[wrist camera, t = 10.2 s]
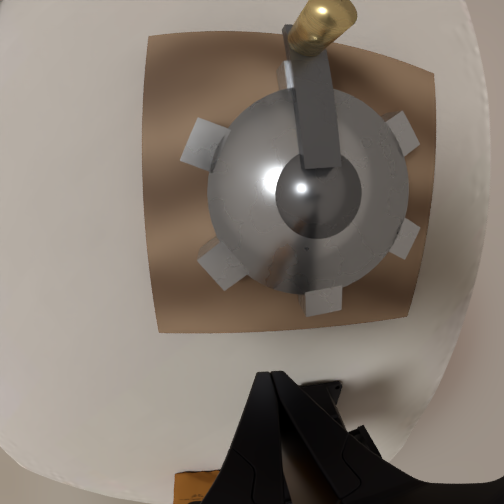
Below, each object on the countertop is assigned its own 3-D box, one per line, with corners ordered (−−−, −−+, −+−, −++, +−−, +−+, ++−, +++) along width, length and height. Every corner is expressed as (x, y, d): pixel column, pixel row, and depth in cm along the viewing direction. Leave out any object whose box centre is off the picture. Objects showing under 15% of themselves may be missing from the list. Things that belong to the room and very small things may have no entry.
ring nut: (389, 52, 14) (452, 25, 7) (399, 280, 20) (453, 326, 13) (172, 54, 13) (146, 1, 7) (212, 314, 19) (211, 387, 12)
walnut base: (398, 308, 23) (407, 317, 21) (162, 321, 20) (158, 333, 19) (422, 76, 16) (434, 73, 14) (153, 44, 14) (148, 35, 12)
